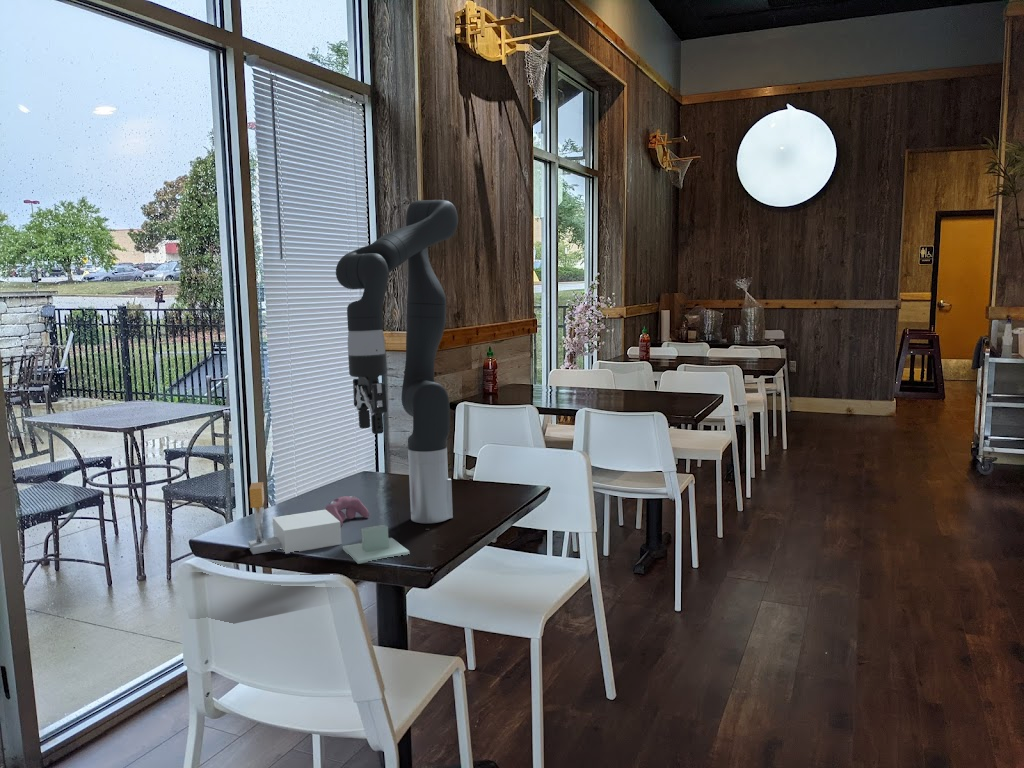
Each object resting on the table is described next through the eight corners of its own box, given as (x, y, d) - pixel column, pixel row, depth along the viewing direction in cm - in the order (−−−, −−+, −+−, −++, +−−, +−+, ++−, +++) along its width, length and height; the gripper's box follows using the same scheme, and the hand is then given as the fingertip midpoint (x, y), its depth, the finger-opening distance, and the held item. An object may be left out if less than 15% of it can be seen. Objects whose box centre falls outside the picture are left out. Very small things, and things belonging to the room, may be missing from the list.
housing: (326, 530, 185) (325, 509, 185) (341, 544, 175) (340, 521, 174) (246, 543, 177) (244, 521, 177) (256, 558, 167) (254, 535, 166)
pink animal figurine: (361, 521, 198) (351, 495, 199) (372, 516, 195) (362, 489, 196) (329, 531, 190) (319, 504, 191) (340, 526, 187) (330, 498, 189)
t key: (256, 533, 178) (252, 479, 177) (267, 532, 179) (263, 478, 178) (253, 546, 169) (249, 489, 168) (265, 544, 170) (261, 488, 169)
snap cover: (391, 542, 177) (390, 517, 176) (409, 556, 167) (408, 530, 166) (342, 551, 172) (341, 525, 171) (358, 566, 162) (356, 538, 161)
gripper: (396, 353, 160) (400, 433, 162) (373, 349, 173) (377, 424, 174) (359, 355, 157) (364, 437, 158) (339, 352, 169) (343, 428, 171)
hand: (371, 430), depth 166 cm, fingers open, 8 cm apart
